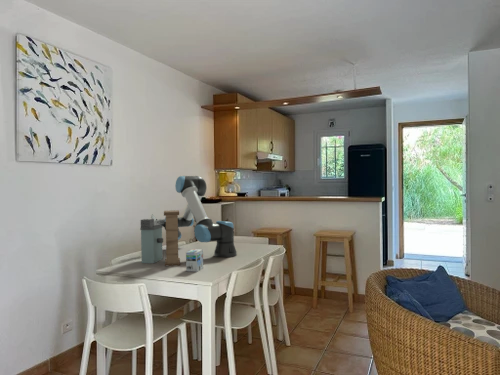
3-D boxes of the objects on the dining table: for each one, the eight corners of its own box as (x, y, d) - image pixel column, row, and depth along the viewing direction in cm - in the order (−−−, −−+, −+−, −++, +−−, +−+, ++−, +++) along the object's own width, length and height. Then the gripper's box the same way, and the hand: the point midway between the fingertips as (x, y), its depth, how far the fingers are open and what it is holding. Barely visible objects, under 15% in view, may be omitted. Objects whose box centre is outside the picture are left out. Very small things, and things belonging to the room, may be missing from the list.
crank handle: (149, 228, 228) (149, 219, 228) (140, 228, 229) (140, 219, 229) (166, 223, 256) (166, 216, 256) (158, 223, 257) (158, 216, 257)
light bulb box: (197, 272, 204) (197, 252, 204) (185, 271, 206) (185, 252, 206) (203, 267, 215) (203, 249, 215) (192, 267, 216) (192, 248, 216)
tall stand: (180, 265, 223) (179, 211, 223) (164, 266, 221) (163, 212, 221) (179, 260, 238) (178, 210, 238) (165, 261, 236) (164, 210, 236)
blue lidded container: (167, 258, 244) (166, 225, 244) (158, 263, 230) (157, 227, 230) (150, 258, 246) (150, 225, 246) (140, 263, 231) (140, 227, 231)
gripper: (186, 233, 269) (178, 220, 251) (153, 233, 273) (142, 221, 255) (188, 223, 273) (179, 210, 255) (155, 223, 276) (145, 211, 258)
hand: (161, 215), depth 255 cm, fingers open, 13 cm apart
